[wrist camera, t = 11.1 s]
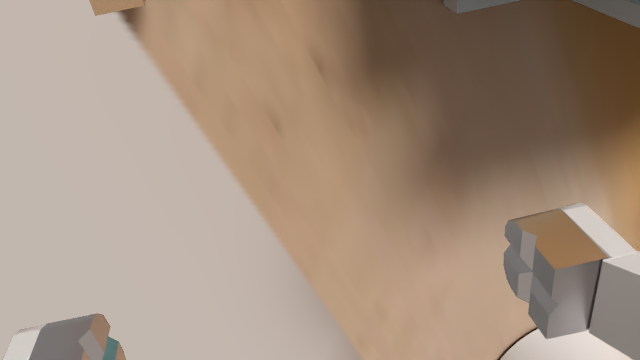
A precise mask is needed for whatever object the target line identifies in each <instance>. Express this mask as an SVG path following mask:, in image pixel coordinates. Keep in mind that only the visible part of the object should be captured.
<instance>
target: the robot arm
mask: <svg viewBox="0 0 640 360" xmlns="http://www.w3.org/2000/svg"><path fill="white" fill-rule="evenodd" d="M505 237H506V239H507V240H508V241H509V243H510V246H509V247H508V248H507V249H506V251H505V252H504V269H505V274H506V278H507V280H508V282H509V285H510V287H511V289H512V290H513V292H514V293H515V295H516V296H517V298H519V299H522V300H524V301H526V302H528V303H529V312H528V314H529V316H530V317H531V318H532V320H533V321H534V323H535V324H536V326H537V327H538V329H537V330H535V331H533V332H531V333H530V334H528V335H527V336H525V337H524V338H522V339H521V340H520V341H518V342H517V343H516V344H515V345H514V346H512V347H511V348H510V349H509V350H508V351H507V352H506V353H505V355H504V356H503V357H502V358H501V359H500V360H640V251H639V252H637V251H636V250H635V249H634V248H633V247H631V246H630V245H629V244H628V243H627V242H626V241H625V240H624V239H623V238H622V237H621V236H620V235H618V234H617V233H616V232H615V231H614V230H613V229H612V228H611V227H610V226H609V225H608V224H607V223H605V222H604V221H603V220H602V219H601V218H600V217H599V216H598V215H597V214H596V213H595V212H594V211H592V210H591V209H590V208H589V207H588V206H587V205H585V204H582V203H577V204H573V205H569V206H565V207H561V208H556V209H555V210H550V211H545V212H541V213H537V214H533V215H528V216H524V217H520V218H516V219H511V220H508V222H507V224H506V226H505ZM109 330H110V325H109V323H108V322H107V320H106V319H105V317H104V315H102V314H92V315H88V316H83V317H78V318H73V319H68V320H63V321H58V322H53V323H48V324H46V325H41V326H36V327H31V328H26V329H21V330H19V331H18V332H17V333H16V334H15V335H14V336H13V337H12V340H11V342H10V344H9V346H8V348H7V351H6V353H5V355H4V357H3V360H126V358H125V355H124V351H123V349H122V347H121V345H120V343H119V342H118V341H116V340H114V339H112V338H110V337H108V334H109Z"/></svg>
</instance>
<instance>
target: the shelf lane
mask: <svg viewBox="0 0 640 360" xmlns="http://www.w3.org/2000/svg"><path fill="white" fill-rule="evenodd" d="M516 1H520V0H443V4H444V6H446V7H447V8H449V9H450V10H452V11H453V12H455V13H456V14H459V13H464V12H469V11H473V10H478V9H483V8H488V7H492V6H497V5H502V4H506V3H511V2H516ZM572 1H574V2H577V3H579V4H582V5H584V6H586V7H589V8H591V9H594V10H596V11H598V12H601V13H603V14H606V15H608V16H611V17H613V18H615V19H618V20H620V21H623V22H625V23H628V24H630V25H632V26H635V27H637V28H640V0H572Z"/></svg>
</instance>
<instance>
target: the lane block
mask: <svg viewBox="0 0 640 360" xmlns="http://www.w3.org/2000/svg"><path fill="white" fill-rule="evenodd" d="M145 1H146V0H90V3H91V5H92V8H93V10H94V13H95V15H100V14H106V13H111V12H115V11H120V10H125V9H130V8H135V7H140V6H144V4H145Z"/></svg>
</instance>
